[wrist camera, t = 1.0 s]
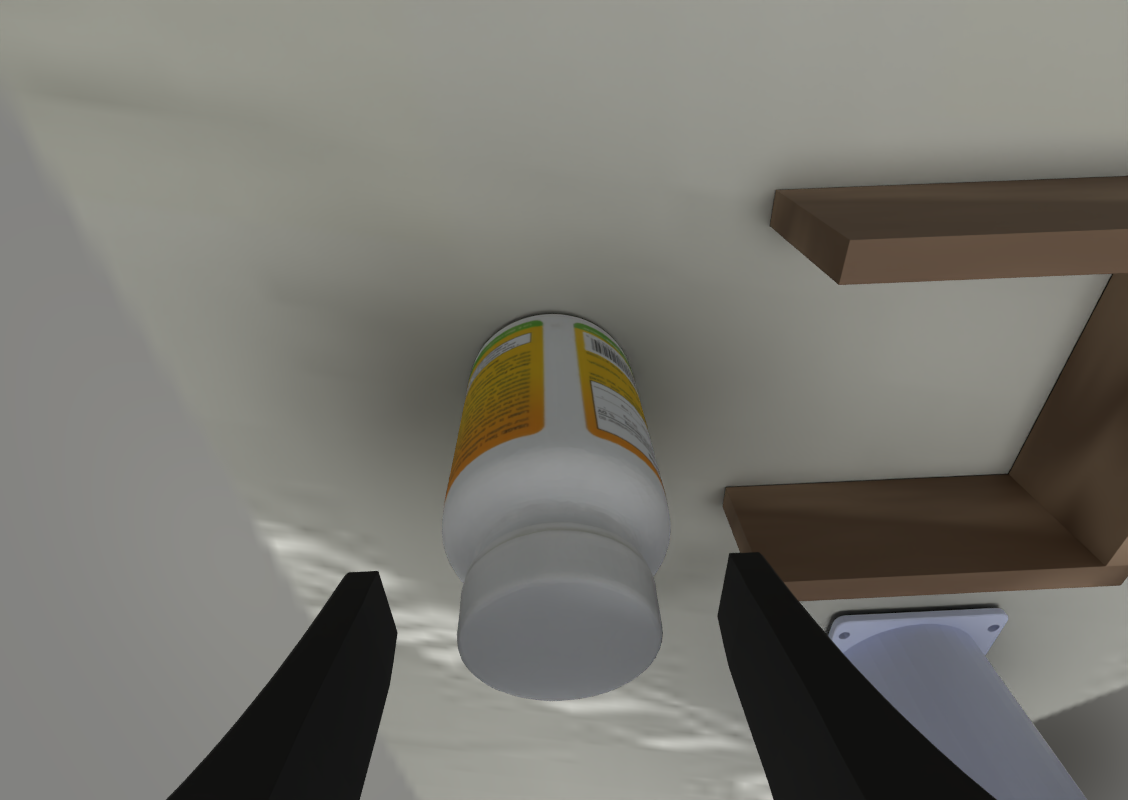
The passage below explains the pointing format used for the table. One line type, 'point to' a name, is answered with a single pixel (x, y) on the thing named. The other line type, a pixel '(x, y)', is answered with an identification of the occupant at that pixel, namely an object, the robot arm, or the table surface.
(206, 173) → the table surface
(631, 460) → the supplement bottle
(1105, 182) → the walnut stall
